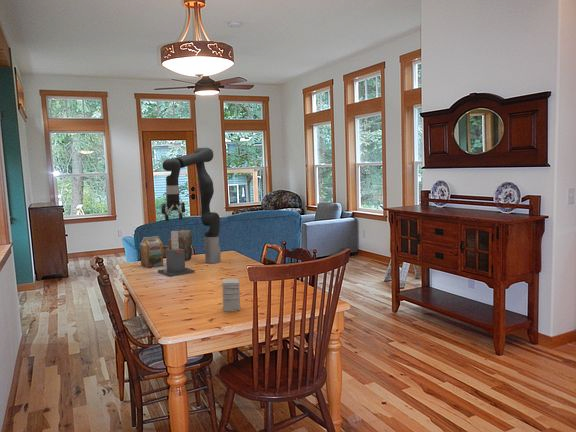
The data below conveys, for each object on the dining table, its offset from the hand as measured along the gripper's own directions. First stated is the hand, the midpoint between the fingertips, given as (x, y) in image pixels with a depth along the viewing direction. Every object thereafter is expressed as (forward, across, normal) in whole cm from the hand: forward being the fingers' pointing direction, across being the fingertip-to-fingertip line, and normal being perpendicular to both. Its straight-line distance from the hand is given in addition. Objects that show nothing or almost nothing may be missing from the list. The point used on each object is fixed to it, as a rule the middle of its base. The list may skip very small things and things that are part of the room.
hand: (173, 220), depth 284 cm
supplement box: (+32, +19, +86) cm, 94 cm away
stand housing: (+31, 0, 0) cm, 31 cm away
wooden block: (+32, -9, -16) cm, 37 cm away
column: (+24, 0, 0) cm, 24 cm away
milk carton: (+32, +1, -30) cm, 44 cm away
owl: (+32, -24, -35) cm, 53 cm away
